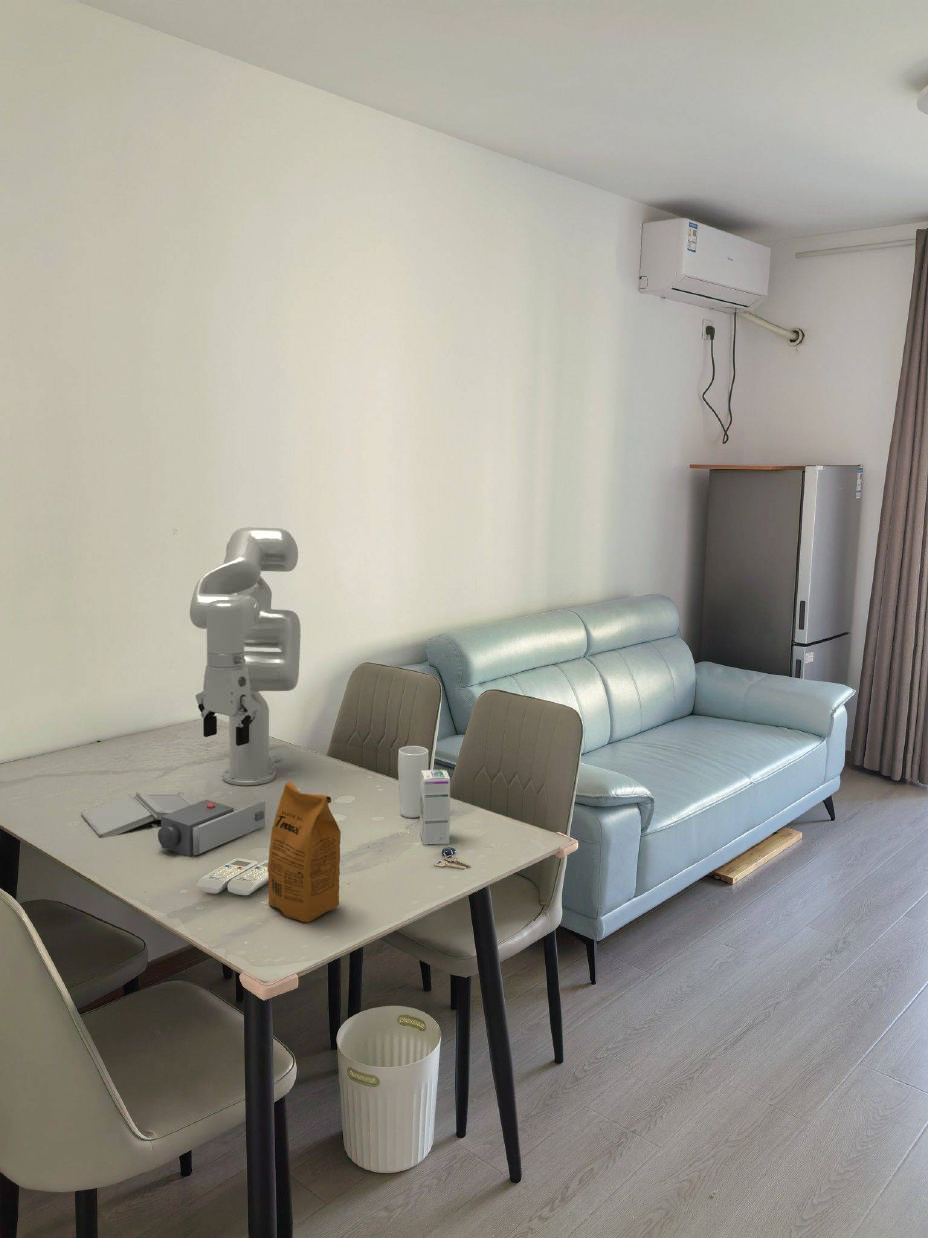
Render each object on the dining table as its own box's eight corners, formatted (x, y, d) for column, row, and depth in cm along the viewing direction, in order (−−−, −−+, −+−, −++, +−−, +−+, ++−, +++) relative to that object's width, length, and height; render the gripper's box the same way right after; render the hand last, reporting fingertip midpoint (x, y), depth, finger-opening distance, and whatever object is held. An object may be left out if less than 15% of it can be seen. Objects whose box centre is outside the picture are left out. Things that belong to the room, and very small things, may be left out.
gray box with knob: (206, 828, 202) (206, 796, 201) (234, 837, 198) (233, 805, 197) (153, 850, 191) (153, 816, 190) (181, 860, 187) (181, 825, 185)
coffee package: (303, 887, 177) (304, 773, 173) (347, 909, 169) (349, 790, 165) (258, 904, 170) (258, 785, 166) (302, 928, 161) (302, 804, 158)
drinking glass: (433, 814, 215) (435, 750, 212) (411, 822, 210) (413, 756, 208) (412, 806, 219) (413, 743, 217) (390, 814, 215) (391, 749, 212)
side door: (261, 824, 205) (261, 799, 204) (267, 826, 204) (267, 801, 203) (191, 854, 188) (191, 828, 188) (197, 856, 188) (197, 829, 187)
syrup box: (449, 844, 199) (452, 777, 196) (421, 845, 198) (423, 778, 195) (445, 834, 204) (448, 769, 202) (418, 834, 203) (420, 769, 201)
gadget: (100, 841, 196) (99, 824, 195) (80, 818, 208) (79, 802, 207) (207, 820, 209) (207, 804, 208) (183, 799, 221) (183, 784, 220)
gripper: (269, 663, 195) (268, 743, 198) (211, 651, 205) (211, 728, 207) (241, 668, 189) (241, 752, 192) (183, 656, 199) (184, 736, 201)
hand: (226, 739), depth 200 cm, fingers open, 9 cm apart
